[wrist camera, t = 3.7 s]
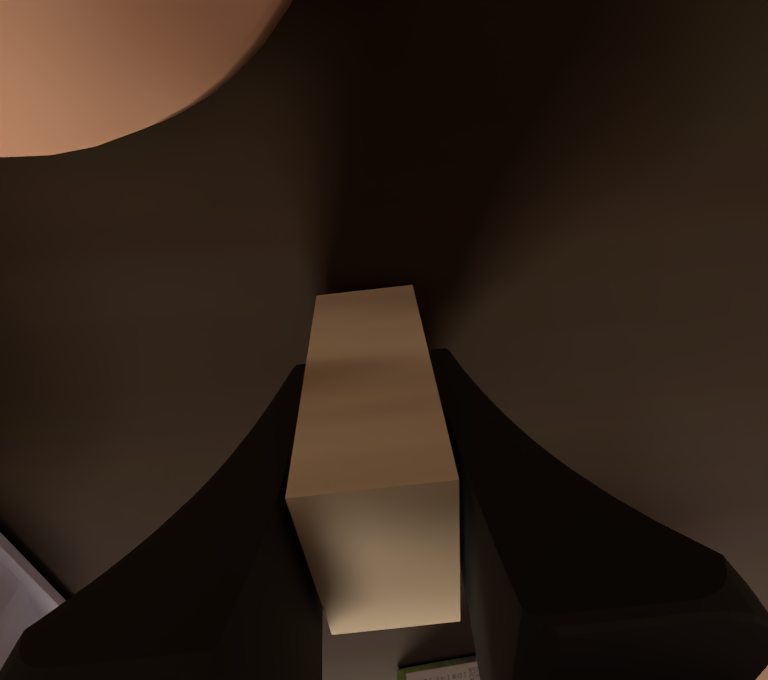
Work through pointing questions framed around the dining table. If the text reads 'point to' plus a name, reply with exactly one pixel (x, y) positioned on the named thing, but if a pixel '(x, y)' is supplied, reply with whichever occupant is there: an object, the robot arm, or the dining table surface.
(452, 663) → the syrup box
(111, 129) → the tan rounded piece
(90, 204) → the dining table surface
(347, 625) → the tall wooden block
